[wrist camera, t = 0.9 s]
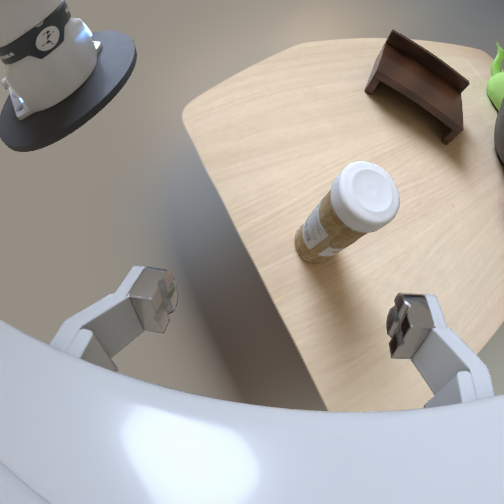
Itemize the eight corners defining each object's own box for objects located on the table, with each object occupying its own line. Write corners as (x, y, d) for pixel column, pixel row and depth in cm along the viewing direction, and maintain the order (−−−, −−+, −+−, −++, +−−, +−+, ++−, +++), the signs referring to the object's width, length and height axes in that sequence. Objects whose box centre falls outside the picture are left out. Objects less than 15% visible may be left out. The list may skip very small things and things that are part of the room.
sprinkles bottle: (327, 270, 29) (396, 236, 16) (287, 253, 29) (331, 205, 16) (339, 231, 30) (405, 177, 17) (301, 215, 30) (348, 147, 17)
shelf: (364, 91, 35) (384, 56, 27) (376, 58, 38) (392, 29, 30) (446, 145, 35) (474, 120, 27) (447, 105, 37) (469, 81, 30)
